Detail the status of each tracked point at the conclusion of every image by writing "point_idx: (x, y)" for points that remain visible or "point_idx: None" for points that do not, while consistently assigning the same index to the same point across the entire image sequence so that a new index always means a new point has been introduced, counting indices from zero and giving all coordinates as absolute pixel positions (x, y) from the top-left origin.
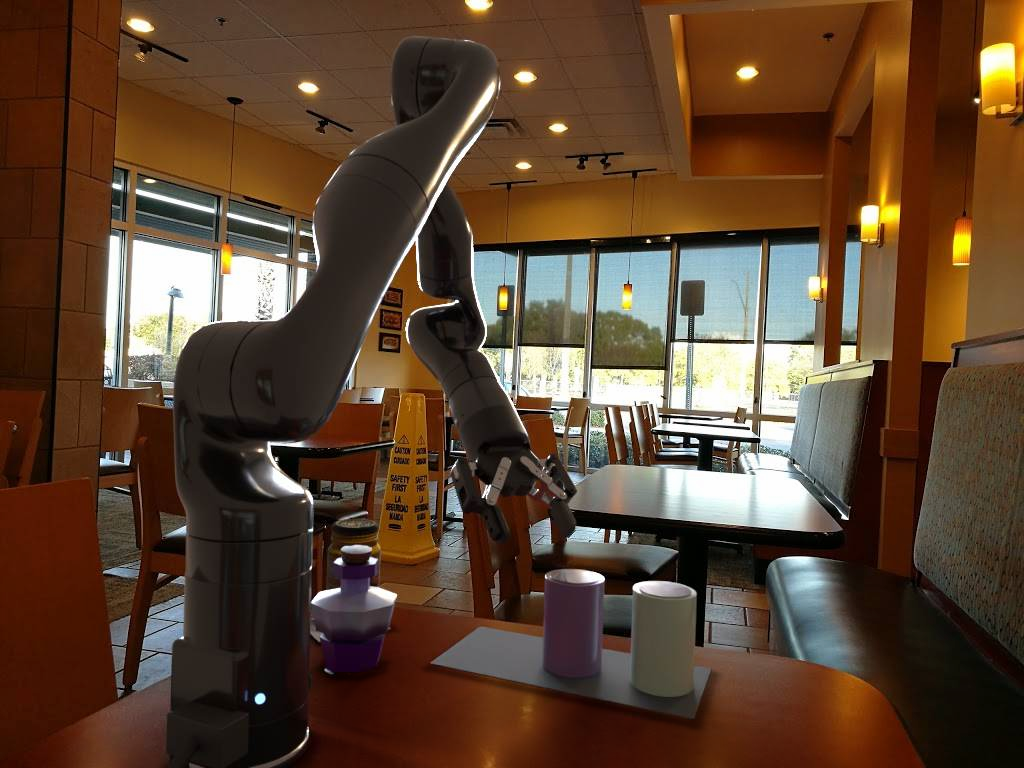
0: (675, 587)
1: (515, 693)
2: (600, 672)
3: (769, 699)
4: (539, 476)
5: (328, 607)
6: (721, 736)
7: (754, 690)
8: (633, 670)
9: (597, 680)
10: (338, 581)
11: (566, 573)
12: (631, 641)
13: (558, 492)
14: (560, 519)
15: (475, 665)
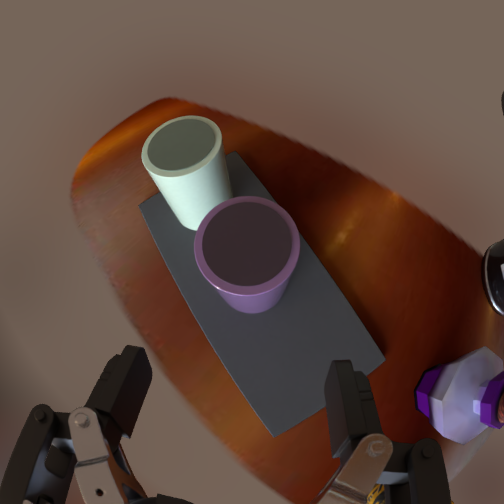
0: (163, 142)
1: (335, 268)
2: None
3: None
4: (116, 497)
5: (501, 368)
6: (230, 138)
7: (142, 173)
8: None
9: None
10: None
11: (249, 261)
12: (222, 196)
13: (87, 430)
14: (134, 391)
15: (348, 333)
